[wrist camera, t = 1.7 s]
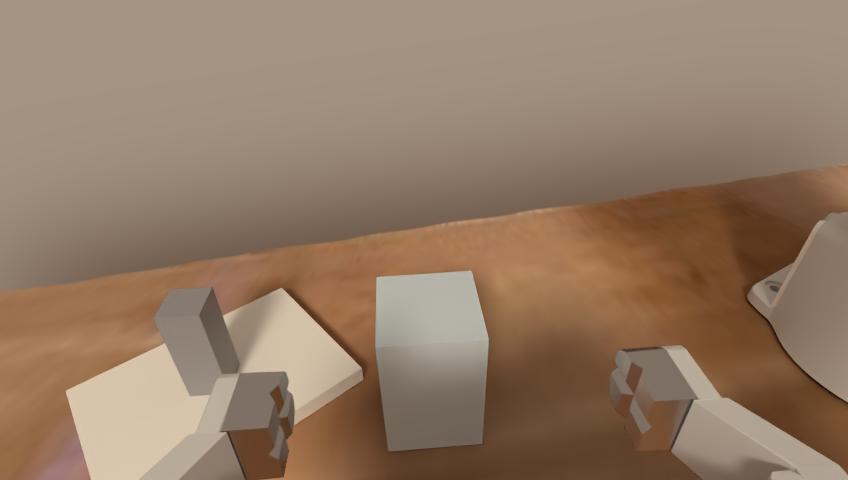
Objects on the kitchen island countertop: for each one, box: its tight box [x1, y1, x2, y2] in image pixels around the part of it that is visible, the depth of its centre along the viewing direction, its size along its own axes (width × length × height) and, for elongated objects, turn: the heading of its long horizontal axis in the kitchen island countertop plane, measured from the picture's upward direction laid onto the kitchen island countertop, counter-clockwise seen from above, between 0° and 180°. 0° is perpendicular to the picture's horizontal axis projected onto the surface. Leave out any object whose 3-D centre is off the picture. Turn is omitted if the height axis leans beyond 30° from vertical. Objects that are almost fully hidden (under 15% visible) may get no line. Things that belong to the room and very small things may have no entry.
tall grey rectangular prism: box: [375, 271, 489, 452], centre depth 29 cm, size 6×6×9 cm
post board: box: [66, 287, 364, 480], centre depth 31 cm, size 16×12×8 cm
